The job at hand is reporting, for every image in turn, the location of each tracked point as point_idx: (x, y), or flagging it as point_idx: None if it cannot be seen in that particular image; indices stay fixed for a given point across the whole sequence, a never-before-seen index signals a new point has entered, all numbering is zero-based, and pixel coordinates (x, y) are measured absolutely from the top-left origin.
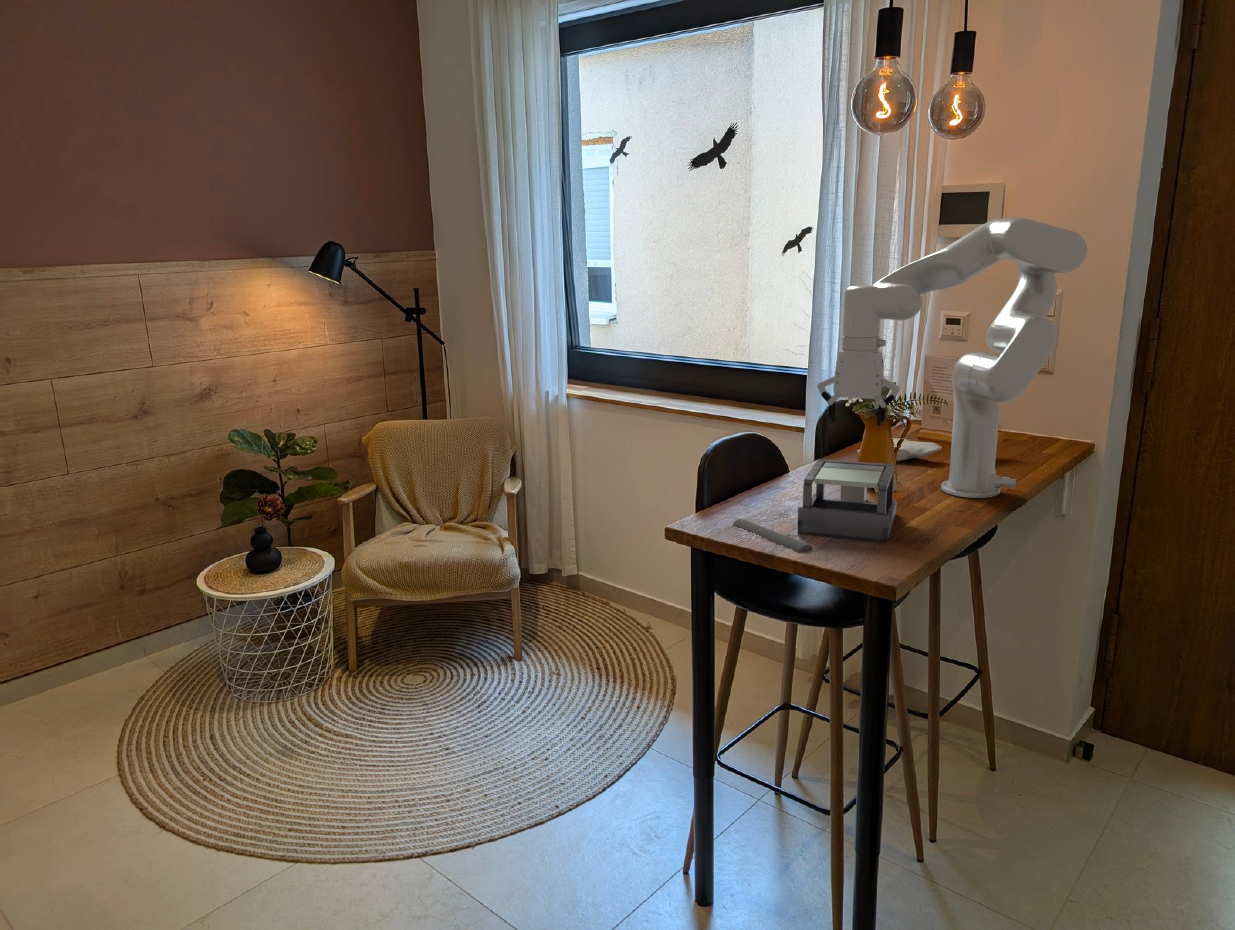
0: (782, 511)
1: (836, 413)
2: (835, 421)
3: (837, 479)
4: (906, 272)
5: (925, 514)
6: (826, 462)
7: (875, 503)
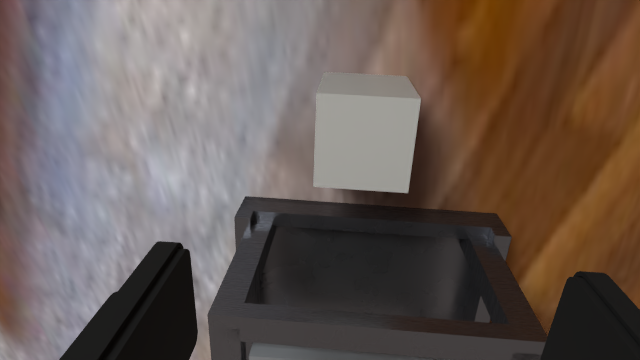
0: None
1: (163, 310)
2: (193, 298)
3: None
4: None
5: (591, 198)
6: (252, 356)
7: (437, 228)
